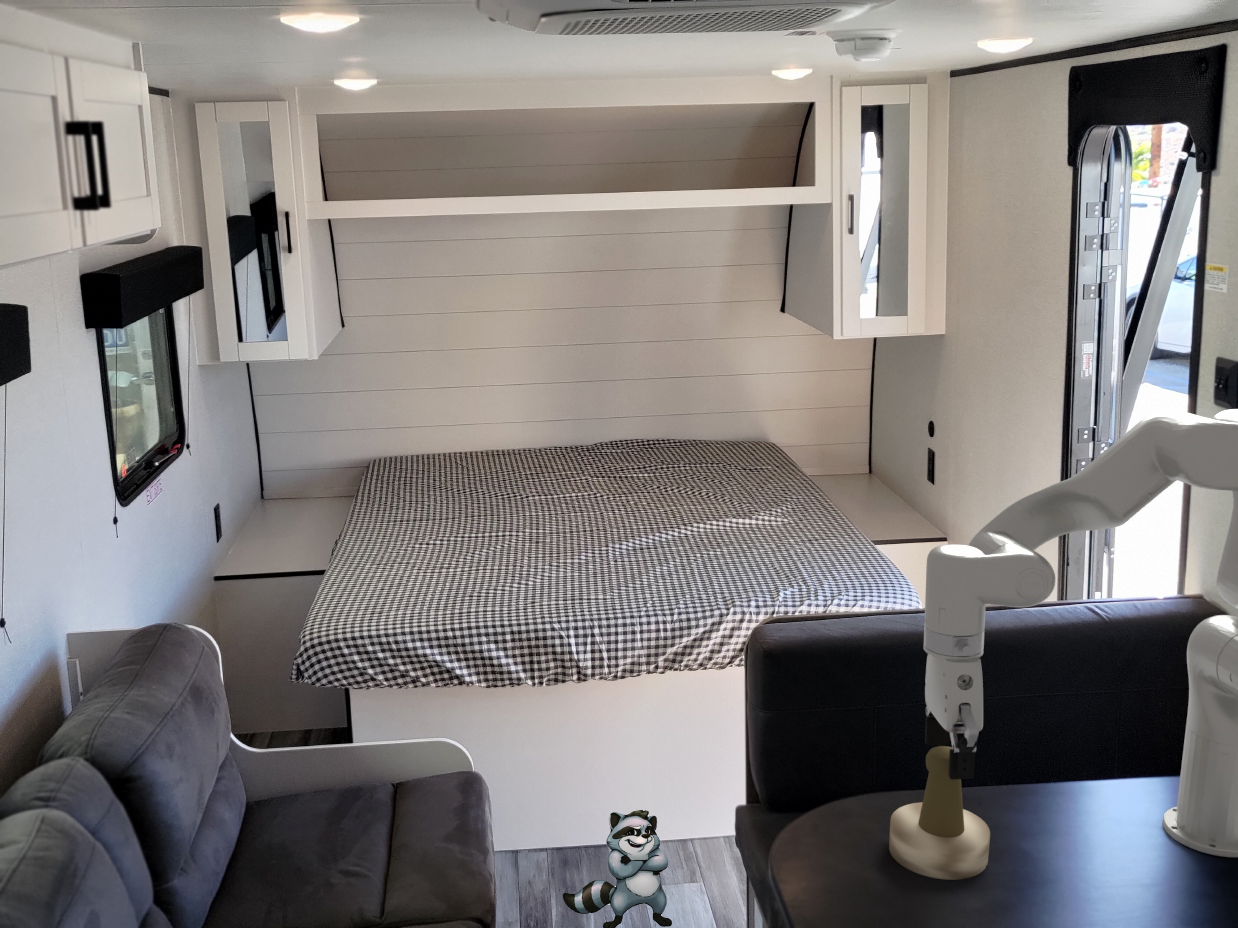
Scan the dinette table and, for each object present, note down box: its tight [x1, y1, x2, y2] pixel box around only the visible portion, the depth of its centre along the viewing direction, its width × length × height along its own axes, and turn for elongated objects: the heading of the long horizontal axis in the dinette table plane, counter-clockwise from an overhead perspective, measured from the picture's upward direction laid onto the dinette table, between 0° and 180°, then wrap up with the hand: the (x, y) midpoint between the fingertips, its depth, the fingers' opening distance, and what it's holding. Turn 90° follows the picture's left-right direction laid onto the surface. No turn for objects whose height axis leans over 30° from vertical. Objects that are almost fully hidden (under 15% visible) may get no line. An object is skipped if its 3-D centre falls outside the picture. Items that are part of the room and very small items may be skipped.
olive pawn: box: [919, 745, 964, 837], centre depth 155 cm, size 6×6×11 cm
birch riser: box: [888, 801, 991, 881], centre depth 156 cm, size 13×13×4 cm
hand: (948, 760), depth 154 cm, fingers open, 9 cm apart
